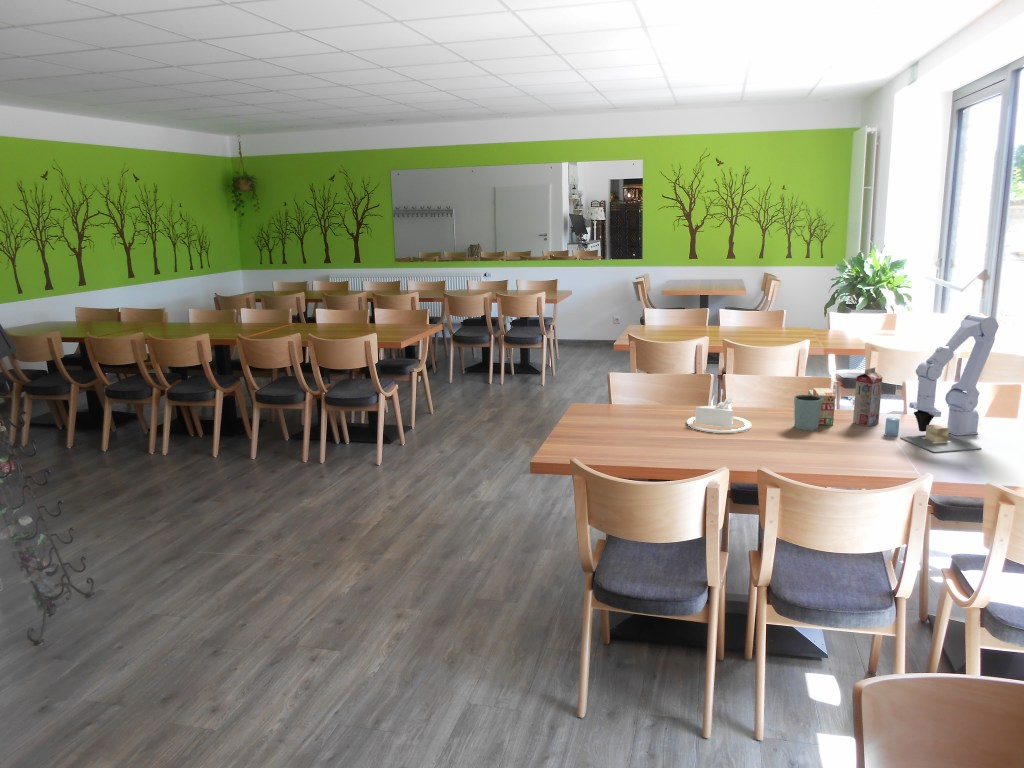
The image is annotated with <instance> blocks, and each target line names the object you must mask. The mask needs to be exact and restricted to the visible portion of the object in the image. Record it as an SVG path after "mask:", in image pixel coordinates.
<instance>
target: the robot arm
mask: <svg viewBox="0 0 1024 768" xmlns="http://www.w3.org/2000/svg"><path fill="white" fill-rule="evenodd" d="M999 326H1000V324H999V322H998V321H997V319H996V318H995V317H994V316H988V315H980V314H976V313H968V314H966V316H965V317H964V318H963V319H962V320H961V321H960V327H959V328H958V329H957V330H956V332H955V333H954V335H952V337H951V338H950V339H949V340H948V341H947V342H946V344H945V345H944V346H943V345H942V346H939V347H937V348H936V349H935V351H934V352H933V353H932V355H930V357H928V358H927V359H926V361H923V362H921V363H920V364H919V365H918V366H917V367H916V369H915V373H916V376H917V381H918V386H917V396H916V401H912V402H911V401H910V402H909V406H908V407H909V408H910V409H913V410H916V411H914V412H913V415H914V416H915V418H916V422H917V425H918V431H919V432H921V433H922V432H926V428H927V425H931V424H930V423H931V421H932V420H933V419H934V417H935V418H940V417H942V411H940V410H939V409H937V408H936V407H935V401H936V400H935V399H936V391H937V383H938V382H937V380H938V379H939V378H941V376H942V374H943V370H944V368H945V366H947V364H949V362H950V361H951V360H952V359H953V358H954V355H955V354H954V353H955V351H956V350H957V349H958V348H959V347H961V345H962V344H964V343H965V342H966V341H967V340H968V339H969V338H970V337H972V338H973V339H974V341H975V343H974V345H973V347H972V350H971V352H970V355H969V357H968V359H967V362H966V364H965V367H964V369H963V372H962V373H961V376H960V379H959V381H958V382H956V383H954V384H952V385H951V388H950V389H949V390H948V391H947V393H946V394H945V396H944V397H945V398H944V399H945V403H946V404H947V407H948V416H947V417H948V419H947V426H946V427H948V428H949V433H948V434H951V435H954V436H967V435H968V436H969V435H978V433H979V432H978V427H979V419H980V417H979V413H978V411H977V409H976V408H977V406H978V403H979V396H980V392H979V391H980V390H978V389H977V384H978V382H979V379H980V378H981V374H982V372H983V370H984V368H985V364H986V363H987V360H988V358H989V355H990V352H991V350H992V349H993V346H994V343H995V341H996V340H995V339H996V334H997V331H998V328H999Z"/></svg>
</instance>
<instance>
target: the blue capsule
mask: <svg viewBox="0 0 1024 768" xmlns="http://www.w3.org/2000/svg"><path fill="white" fill-rule="evenodd" d="M899 433H900V419H899V418H898V417H886V419H885V427H884V435H885V434H886V435H885V436H887V435H889V436H888V437H899Z"/></svg>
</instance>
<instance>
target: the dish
mask: <svg viewBox="0 0 1024 768" xmlns="http://www.w3.org/2000/svg"><path fill="white" fill-rule="evenodd" d="M733 402H734V400H733V399H732V398H731V397H727V398H726V399H724V402H723V401H721V402H718V403H717V404H715V405H701V406H695V410H694V411H695V412H694V413H695V414H694V415H695V416H691V417H689V418H688V419H687V420H686V425H687V424H688V425H689V426H690V427H692V428H695V429H698V430H702V431H707V432H714V433H713V434H715V433H735V432H742V433H744V432H743V431H745V432H747V431H746V430H748V431H750V430H751V429H752V428H751V427H753V424H752V422H751V421H750V420H747V419H746V418H742V417H739V416H734V410H733V408H732V406H731V404H732V403H733ZM733 419H736V420H739V421H742V422H743V423H744V425H745V426H744V427H741V428H738V429H731V430H724V429H723V430H717V429H708V428H703V427H700V426H697V425H695V424H693V421H694V420H695V423H700V424H706V425H713V426H720V427H728V428H732V424H733ZM690 427H689V428H690ZM750 428H751V429H750ZM749 429H750V430H749ZM735 434H736V433H735Z"/></svg>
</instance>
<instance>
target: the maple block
mask: <svg viewBox="0 0 1024 768" xmlns="http://www.w3.org/2000/svg"><path fill="white" fill-rule="evenodd" d="M949 434H950V433H949V428H948V427H947V426H945V425H942V424H940V423H937V424H929V425H927V428H926V431H925V435H926V439H928V440H931V441H933V442H946V441H948V435H949Z"/></svg>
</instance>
